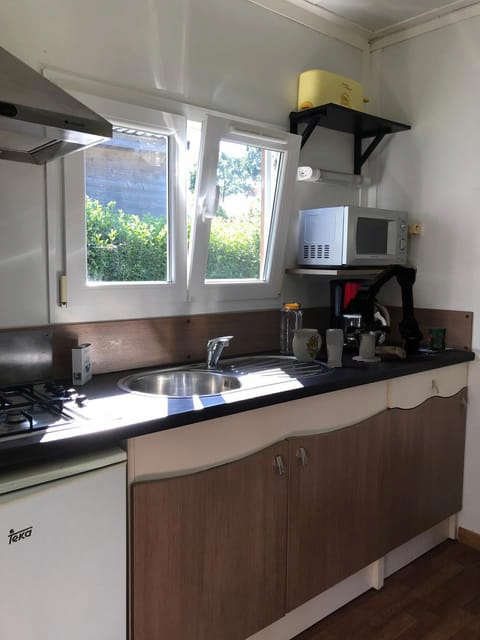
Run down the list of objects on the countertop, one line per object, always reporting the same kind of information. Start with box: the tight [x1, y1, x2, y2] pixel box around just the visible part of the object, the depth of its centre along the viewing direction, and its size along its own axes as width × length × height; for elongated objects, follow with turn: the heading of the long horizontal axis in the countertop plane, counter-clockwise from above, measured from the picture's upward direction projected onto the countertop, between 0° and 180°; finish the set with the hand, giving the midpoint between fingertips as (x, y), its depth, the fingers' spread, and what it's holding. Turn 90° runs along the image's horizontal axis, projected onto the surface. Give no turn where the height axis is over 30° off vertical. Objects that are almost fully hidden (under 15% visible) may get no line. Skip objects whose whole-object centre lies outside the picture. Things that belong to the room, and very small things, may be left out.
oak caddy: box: [375, 346, 407, 359], centre depth 248 cm, size 15×14×3 cm
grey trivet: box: [352, 355, 382, 363], centre depth 238 cm, size 12×12×1 cm
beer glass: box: [325, 328, 345, 369], centre depth 222 cm, size 7×7×15 cm
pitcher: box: [291, 328, 323, 363], centre depth 236 cm, size 11×18×14 cm, turn 130°
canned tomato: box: [427, 326, 447, 353], centre depth 262 cm, size 8×8×11 cm
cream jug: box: [358, 333, 376, 357], centre depth 236 cm, size 9×7×9 cm
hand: (367, 348), depth 238 cm, fingers closed on cream jug, 6 cm apart
